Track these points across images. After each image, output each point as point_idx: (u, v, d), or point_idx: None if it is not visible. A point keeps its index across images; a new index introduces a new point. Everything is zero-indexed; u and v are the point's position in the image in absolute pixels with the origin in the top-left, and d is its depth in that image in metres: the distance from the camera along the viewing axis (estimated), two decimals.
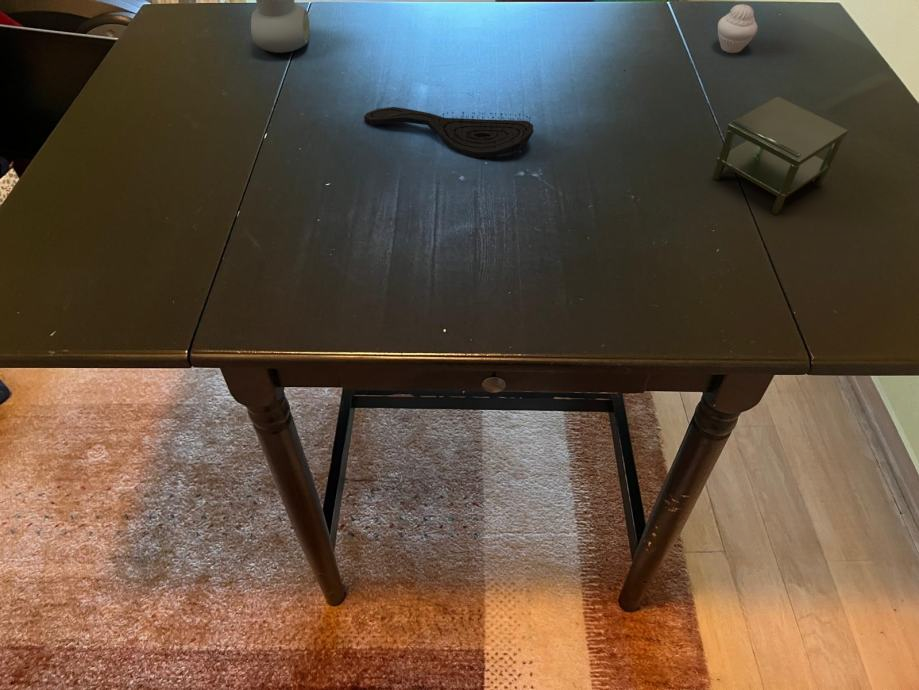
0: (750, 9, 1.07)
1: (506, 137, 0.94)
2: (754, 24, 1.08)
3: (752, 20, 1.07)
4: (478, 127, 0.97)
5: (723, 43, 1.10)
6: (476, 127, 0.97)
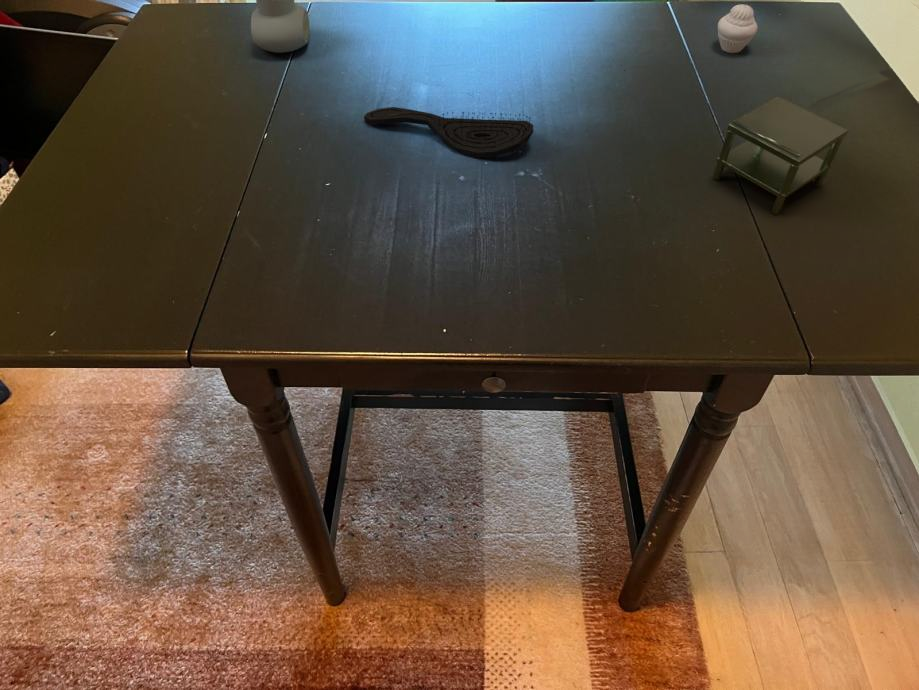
0: (750, 9, 1.07)
1: (506, 137, 0.94)
2: (754, 24, 1.08)
3: (752, 20, 1.07)
4: (478, 127, 0.97)
5: (723, 43, 1.10)
6: (476, 127, 0.97)
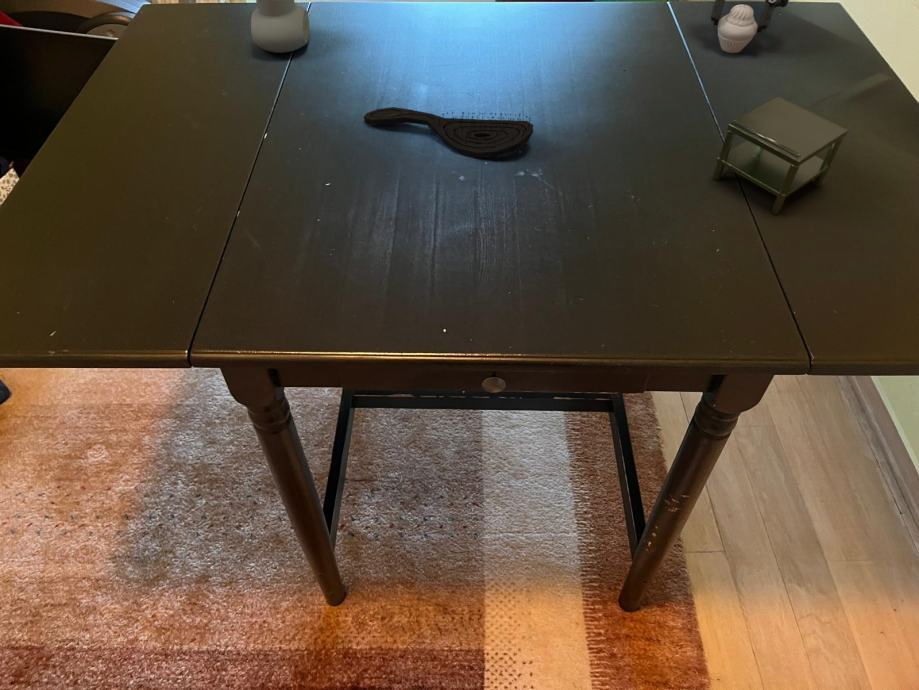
0: (750, 9, 1.07)
1: (506, 137, 0.94)
2: (754, 24, 1.08)
3: (752, 20, 1.07)
4: (478, 127, 0.97)
5: (723, 43, 1.10)
6: (476, 127, 0.97)
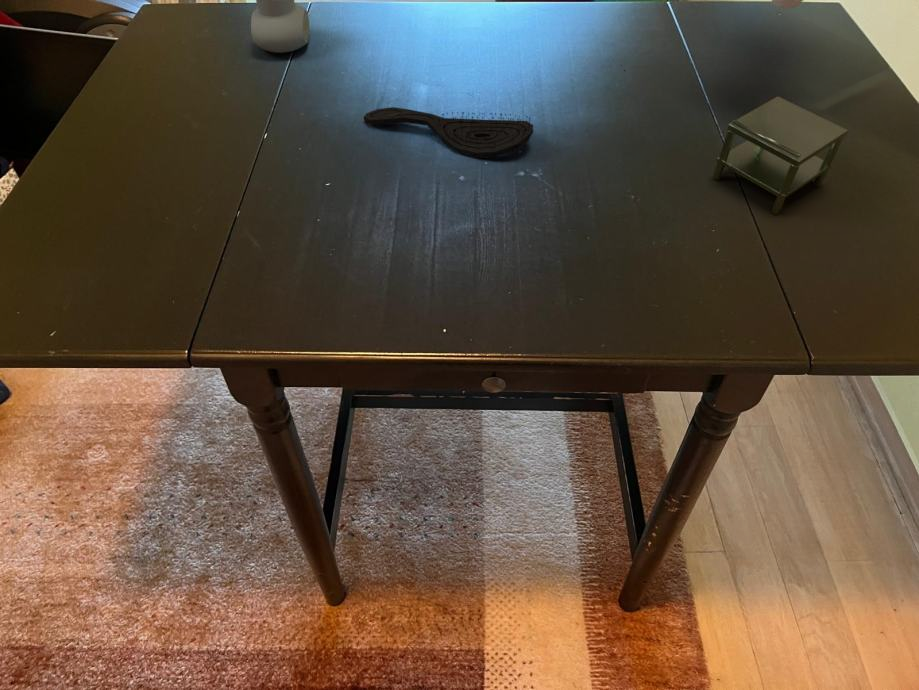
0: None
1: (506, 137, 0.94)
2: None
3: None
4: (478, 127, 0.97)
5: None
6: (476, 127, 0.97)
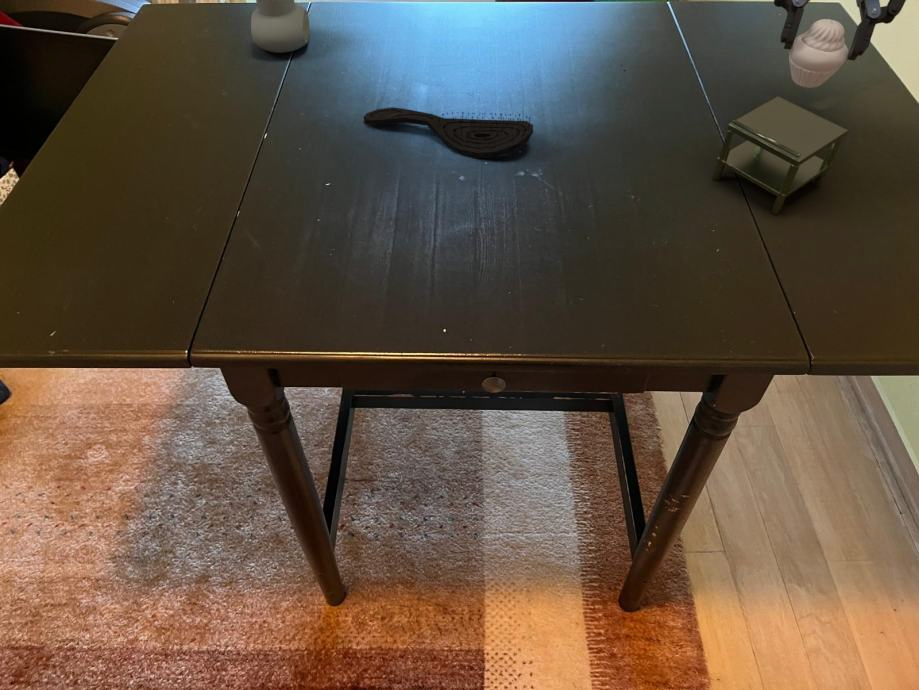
0: (840, 26, 0.73)
1: (506, 137, 0.94)
2: (844, 48, 0.75)
3: (842, 42, 0.74)
4: (478, 127, 0.97)
5: (797, 74, 0.77)
6: (476, 127, 0.97)
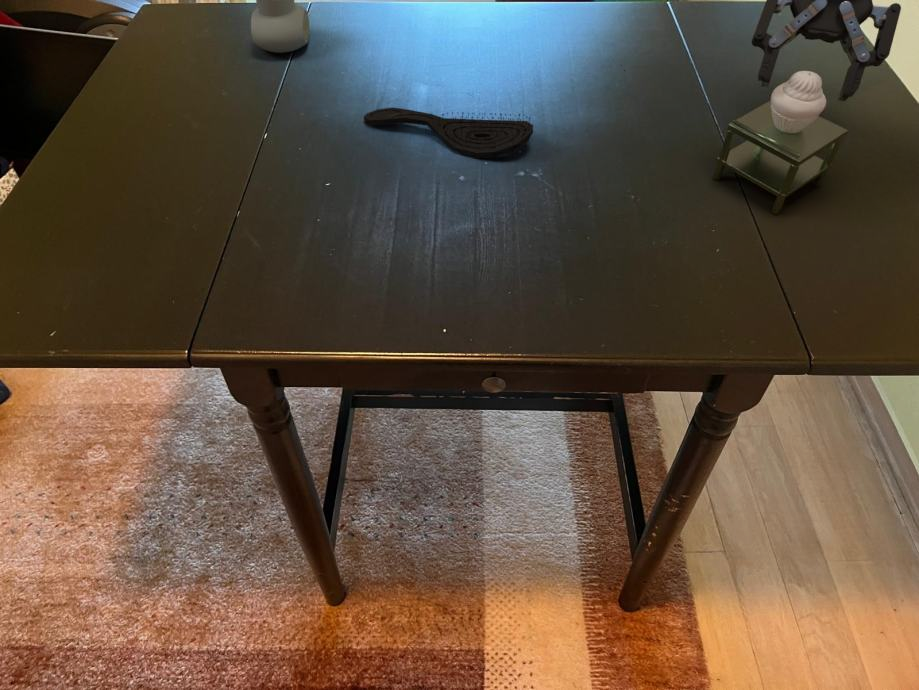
0: (818, 78, 0.78)
1: (506, 137, 0.94)
2: (822, 97, 0.79)
3: (820, 92, 0.79)
4: (478, 127, 0.97)
5: (778, 121, 0.82)
6: (476, 127, 0.97)
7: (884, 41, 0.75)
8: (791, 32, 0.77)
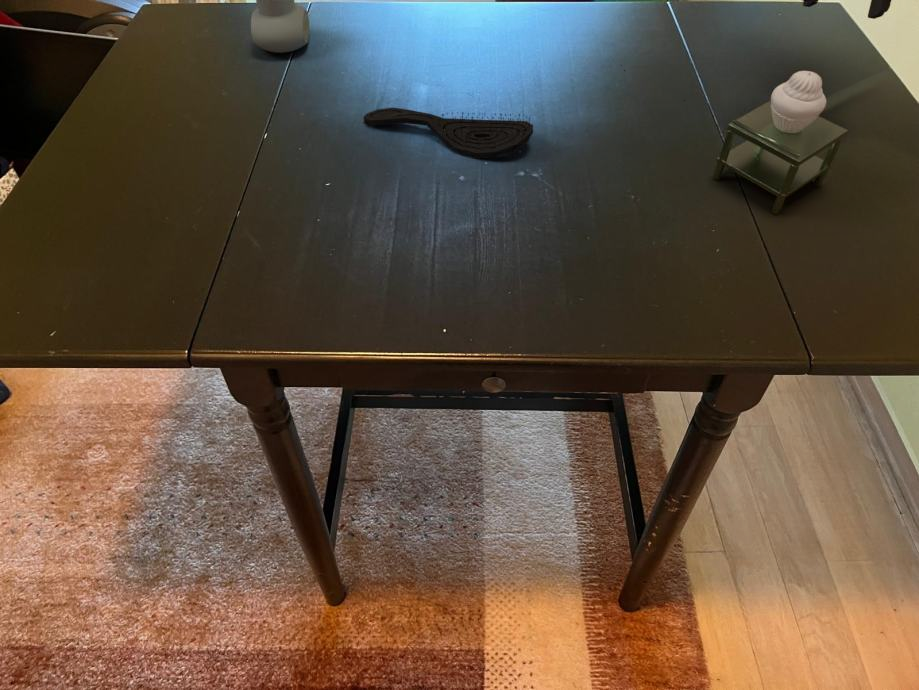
0: (818, 78, 0.78)
1: (506, 137, 0.94)
2: (822, 97, 0.79)
3: (820, 92, 0.79)
4: (478, 127, 0.97)
5: (778, 121, 0.82)
6: (476, 127, 0.97)
7: None
8: None
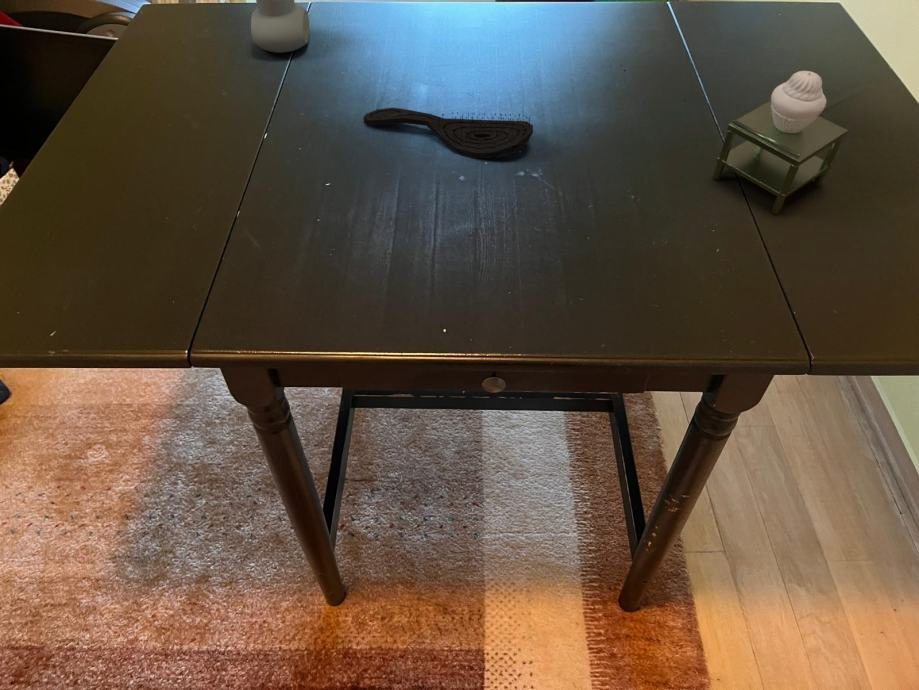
0: (818, 78, 0.78)
1: (506, 137, 0.94)
2: (822, 97, 0.79)
3: (820, 92, 0.79)
4: (478, 128, 0.97)
5: (778, 121, 0.82)
6: (476, 127, 0.97)
7: None
8: None
